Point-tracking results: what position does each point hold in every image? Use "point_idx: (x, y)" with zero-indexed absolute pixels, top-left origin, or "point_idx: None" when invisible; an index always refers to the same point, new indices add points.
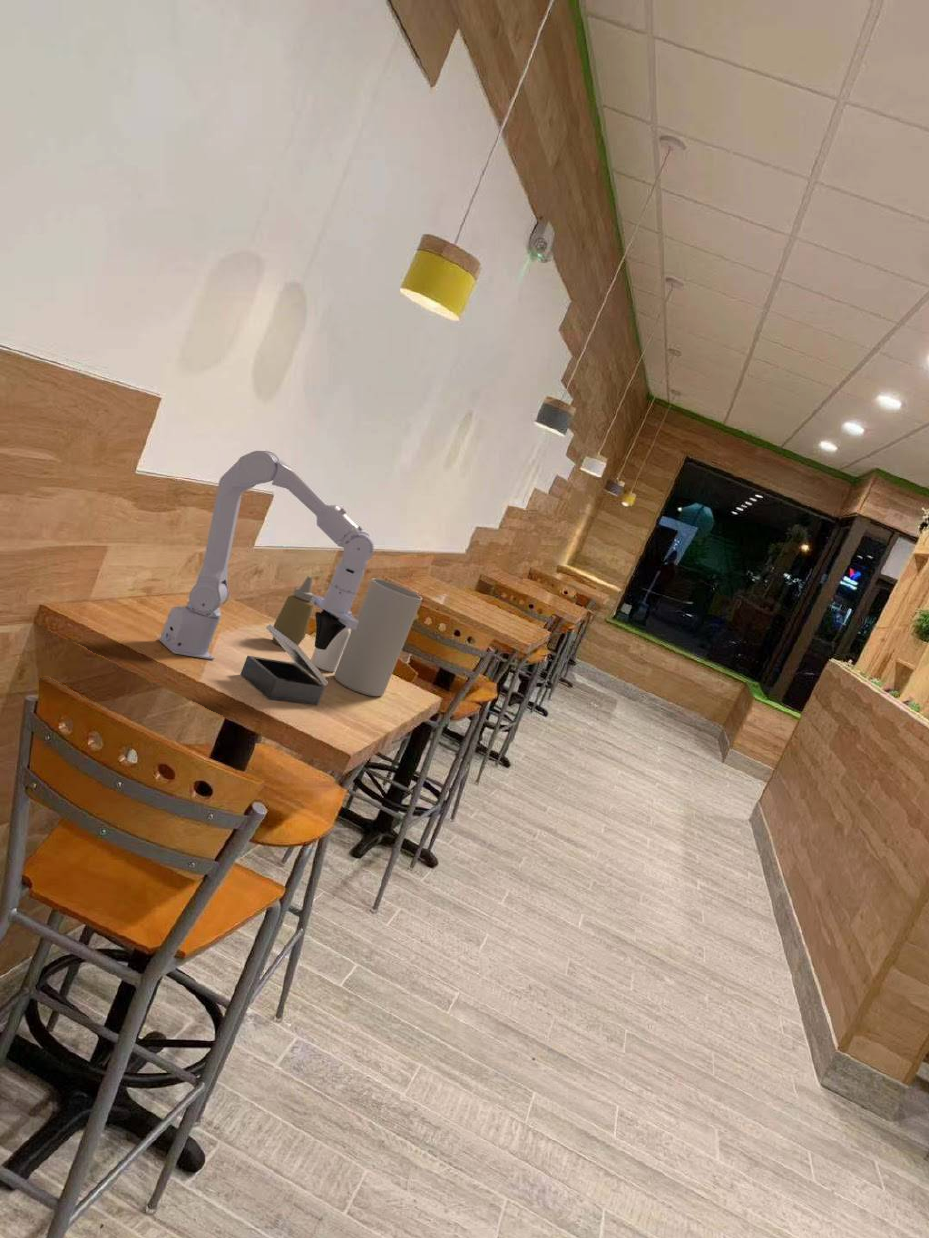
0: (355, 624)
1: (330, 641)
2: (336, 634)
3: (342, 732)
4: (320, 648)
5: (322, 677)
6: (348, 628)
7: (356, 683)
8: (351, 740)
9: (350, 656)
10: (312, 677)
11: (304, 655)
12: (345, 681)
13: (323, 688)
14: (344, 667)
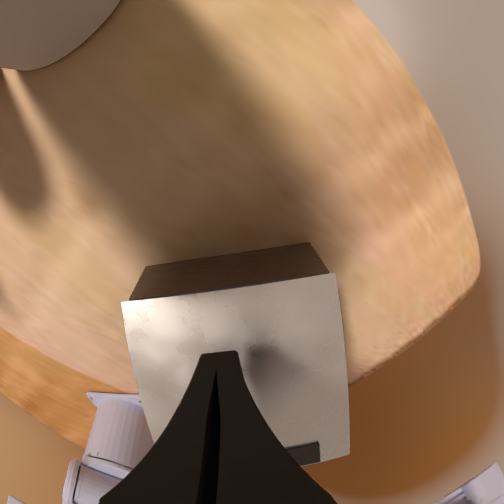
0: (499, 492)
1: (248, 391)
2: (275, 437)
3: (436, 244)
4: (243, 376)
5: (339, 310)
6: (466, 482)
7: (96, 15)
8: (458, 242)
9: (5, 43)
10: (250, 285)
11: (347, 424)
12: (71, 46)
13: (326, 270)
14: (29, 54)
